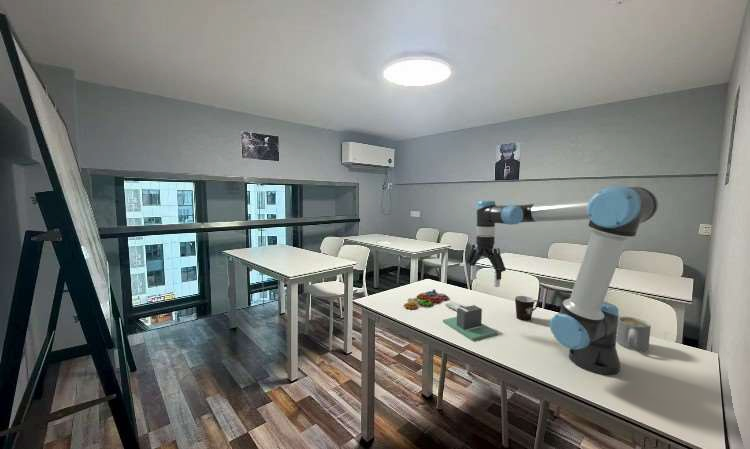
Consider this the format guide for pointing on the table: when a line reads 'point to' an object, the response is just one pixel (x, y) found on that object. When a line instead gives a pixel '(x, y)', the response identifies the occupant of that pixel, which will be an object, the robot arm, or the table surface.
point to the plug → (469, 317)
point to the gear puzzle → (426, 300)
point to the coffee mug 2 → (633, 333)
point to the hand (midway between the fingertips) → (484, 282)
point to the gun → (454, 305)
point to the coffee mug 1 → (524, 307)
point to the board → (471, 330)
